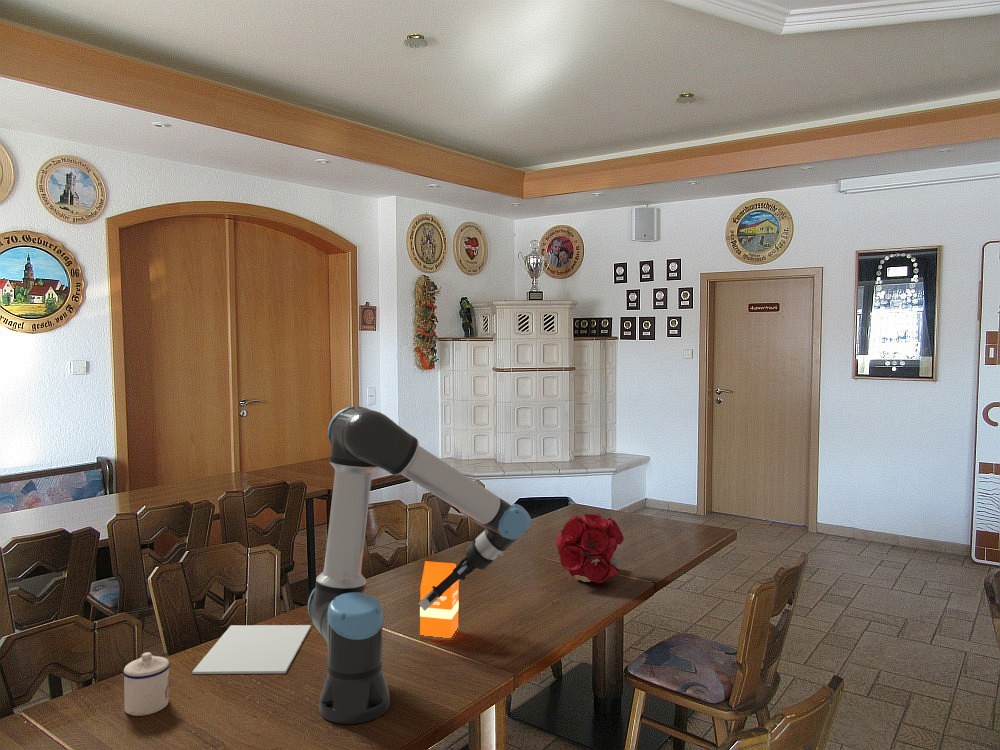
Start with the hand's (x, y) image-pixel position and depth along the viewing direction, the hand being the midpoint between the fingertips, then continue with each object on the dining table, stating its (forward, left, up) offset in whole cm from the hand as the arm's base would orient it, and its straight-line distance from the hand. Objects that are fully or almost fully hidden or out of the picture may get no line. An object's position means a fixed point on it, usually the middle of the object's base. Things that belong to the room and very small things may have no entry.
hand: (432, 598), depth 196 cm
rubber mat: (-10, +45, -10) cm, 47 cm away
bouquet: (+44, -53, -10) cm, 70 cm away
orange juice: (-1, -2, -10) cm, 10 cm away
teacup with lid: (-38, +61, -10) cm, 72 cm away
